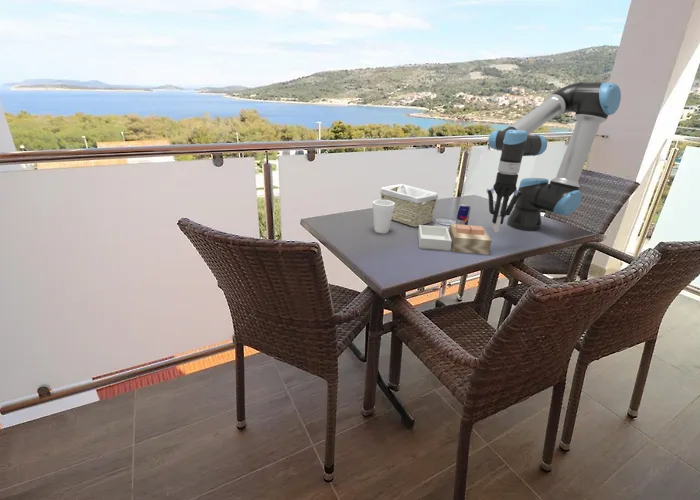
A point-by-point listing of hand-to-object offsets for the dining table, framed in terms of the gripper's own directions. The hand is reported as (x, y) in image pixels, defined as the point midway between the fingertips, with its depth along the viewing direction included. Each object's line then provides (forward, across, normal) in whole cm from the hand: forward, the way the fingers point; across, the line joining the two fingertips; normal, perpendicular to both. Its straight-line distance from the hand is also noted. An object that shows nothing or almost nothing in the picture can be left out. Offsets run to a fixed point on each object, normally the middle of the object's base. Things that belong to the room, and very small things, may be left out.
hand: (495, 231), depth 150 cm
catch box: (+7, -24, 0) cm, 25 cm away
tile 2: (+1, -8, 0) cm, 8 cm away
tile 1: (+1, -13, 0) cm, 13 cm away
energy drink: (+8, -10, +19) cm, 23 cm away
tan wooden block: (+7, -10, 0) cm, 12 cm away
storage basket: (+8, -35, +29) cm, 46 cm away
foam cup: (+8, -46, +9) cm, 47 cm away
